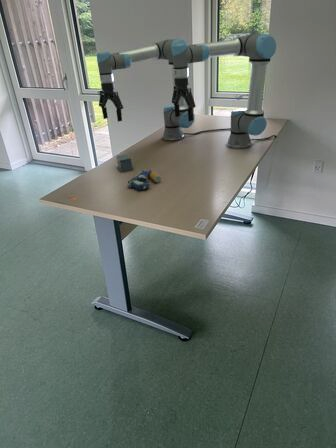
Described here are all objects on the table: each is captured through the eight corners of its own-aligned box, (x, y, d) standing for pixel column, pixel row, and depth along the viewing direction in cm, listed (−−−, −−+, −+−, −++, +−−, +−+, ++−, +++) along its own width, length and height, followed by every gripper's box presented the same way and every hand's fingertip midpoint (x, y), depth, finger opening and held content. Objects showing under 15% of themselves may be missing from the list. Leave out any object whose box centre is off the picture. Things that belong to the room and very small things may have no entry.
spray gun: (166, 176, 187) (143, 174, 193) (165, 169, 185) (142, 167, 191) (148, 193, 172) (124, 189, 178) (147, 185, 170) (123, 182, 176)
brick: (121, 172, 199) (119, 160, 195) (118, 167, 206) (116, 155, 202) (132, 169, 201) (130, 158, 197) (128, 165, 208) (127, 153, 204)
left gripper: (89, 82, 197) (95, 118, 208) (116, 84, 182) (121, 123, 193) (99, 80, 202) (104, 116, 213) (126, 82, 187) (131, 120, 198)
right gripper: (163, 76, 182) (166, 116, 193) (188, 80, 163) (190, 124, 174) (175, 74, 185) (177, 113, 196) (201, 78, 166) (202, 121, 177)
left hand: (112, 119), depth 203 cm, fingers open, 13 cm apart
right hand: (184, 118), depth 185 cm, fingers open, 13 cm apart
